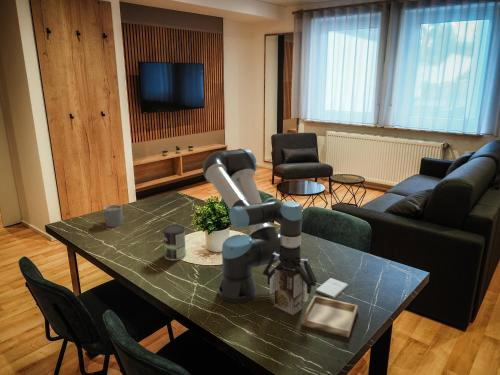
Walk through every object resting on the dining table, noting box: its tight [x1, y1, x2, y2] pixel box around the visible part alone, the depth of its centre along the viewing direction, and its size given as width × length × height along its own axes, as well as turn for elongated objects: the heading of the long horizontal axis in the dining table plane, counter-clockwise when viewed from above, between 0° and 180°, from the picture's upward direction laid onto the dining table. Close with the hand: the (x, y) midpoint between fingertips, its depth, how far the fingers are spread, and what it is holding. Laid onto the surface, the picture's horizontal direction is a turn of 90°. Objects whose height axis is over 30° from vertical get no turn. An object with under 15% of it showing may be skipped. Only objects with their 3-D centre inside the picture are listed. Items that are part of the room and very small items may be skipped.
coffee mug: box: [103, 204, 124, 228], centre depth 228 cm, size 13×10×10 cm
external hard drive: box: [315, 277, 349, 300], centre depth 160 cm, size 2×8×12 cm
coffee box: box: [274, 266, 304, 316], centre depth 146 cm, size 9×6×16 cm
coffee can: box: [162, 224, 187, 261], centre depth 187 cm, size 10×10×14 cm
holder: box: [300, 295, 359, 339], centre depth 141 cm, size 17×17×2 cm
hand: (288, 296), depth 146 cm, fingers open, 13 cm apart
